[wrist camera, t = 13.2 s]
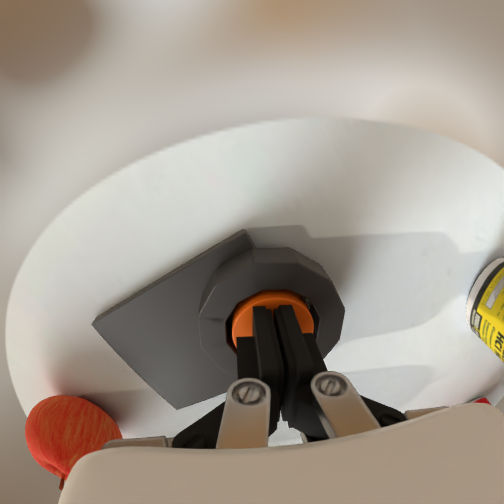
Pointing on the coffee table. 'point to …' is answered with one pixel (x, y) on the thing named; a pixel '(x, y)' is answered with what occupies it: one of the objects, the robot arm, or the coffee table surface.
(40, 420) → the apple
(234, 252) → the switch block
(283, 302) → the button
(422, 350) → the coffee table surface
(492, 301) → the pill bottle
